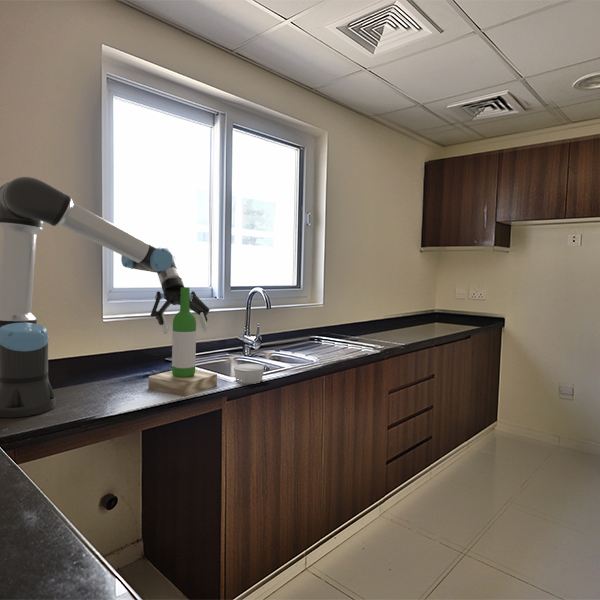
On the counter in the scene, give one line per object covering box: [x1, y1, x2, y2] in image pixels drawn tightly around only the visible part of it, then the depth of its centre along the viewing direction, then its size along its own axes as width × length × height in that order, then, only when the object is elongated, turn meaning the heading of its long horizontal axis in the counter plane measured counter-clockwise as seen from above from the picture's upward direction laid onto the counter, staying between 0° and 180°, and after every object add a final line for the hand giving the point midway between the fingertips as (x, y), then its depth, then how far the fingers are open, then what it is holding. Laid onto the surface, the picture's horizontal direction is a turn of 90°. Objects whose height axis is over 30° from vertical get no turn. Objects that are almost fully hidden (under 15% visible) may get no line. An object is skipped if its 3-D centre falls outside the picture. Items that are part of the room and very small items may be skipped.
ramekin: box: [233, 363, 265, 385], centre depth 160 cm, size 11×11×5 cm
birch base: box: [148, 369, 218, 397], centre depth 148 cm, size 16×16×4 cm
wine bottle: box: [171, 286, 197, 377], centre depth 147 cm, size 8×8×30 cm
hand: (186, 330), depth 145 cm, fingers open, 13 cm apart
